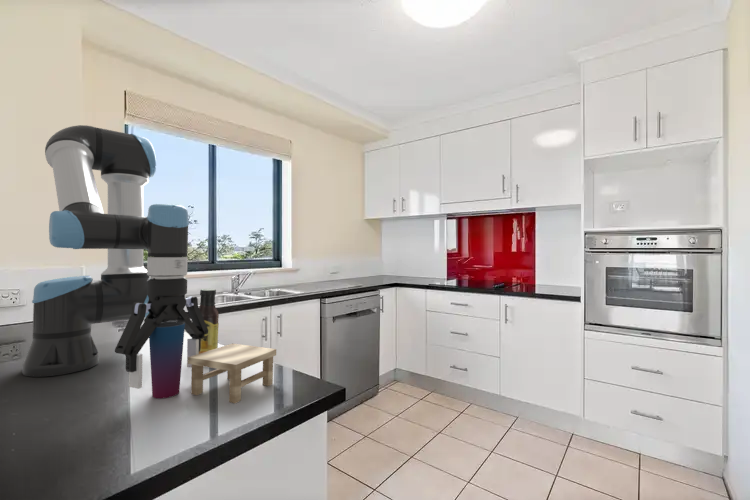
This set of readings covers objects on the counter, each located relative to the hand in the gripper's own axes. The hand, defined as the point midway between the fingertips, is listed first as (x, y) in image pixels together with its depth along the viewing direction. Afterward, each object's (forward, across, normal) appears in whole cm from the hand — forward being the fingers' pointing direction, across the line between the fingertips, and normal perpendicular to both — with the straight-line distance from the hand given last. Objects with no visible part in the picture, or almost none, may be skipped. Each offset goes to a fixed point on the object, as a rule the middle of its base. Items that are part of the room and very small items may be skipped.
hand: (166, 376), depth 79 cm
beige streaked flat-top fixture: (+4, +8, -11) cm, 14 cm away
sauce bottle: (+4, +22, +12) cm, 25 cm away
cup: (+4, 0, 0) cm, 4 cm away
